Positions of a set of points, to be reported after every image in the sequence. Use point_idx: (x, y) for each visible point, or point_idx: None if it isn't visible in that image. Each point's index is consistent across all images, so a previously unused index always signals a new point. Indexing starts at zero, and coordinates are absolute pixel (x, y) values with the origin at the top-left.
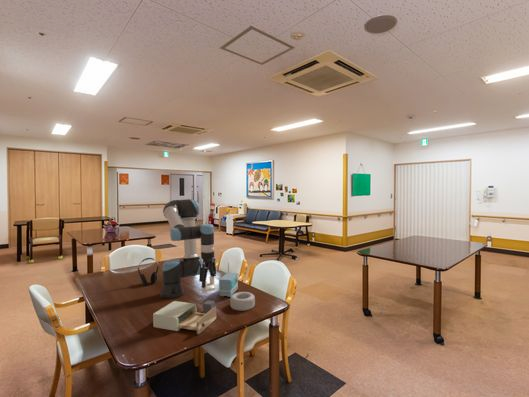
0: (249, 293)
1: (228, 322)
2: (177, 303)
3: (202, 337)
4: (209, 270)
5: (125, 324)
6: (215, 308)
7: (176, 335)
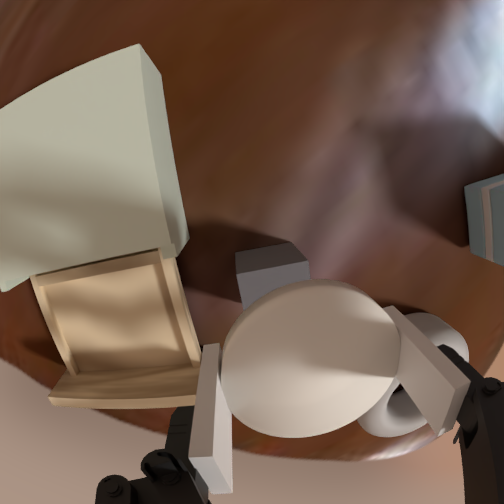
0: None
1: None
2: (108, 106)
3: None
4: (491, 488)
5: (7, 28)
6: None
7: (21, 293)
